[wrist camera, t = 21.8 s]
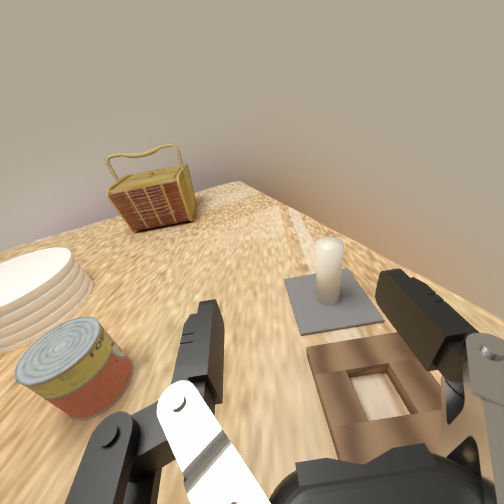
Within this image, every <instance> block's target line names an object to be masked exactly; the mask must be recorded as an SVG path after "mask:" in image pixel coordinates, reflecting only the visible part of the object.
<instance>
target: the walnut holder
mask: <svg viewBox="0 0 504 504" xmlns="http://www.w3.org/2000/svg"><path fill="white" fill-rule="evenodd" d="M307 358H308V361H309V364H310V368H311V371H312V374H313V377H314V381H315V384H316V387H317V391H318V394H319V397H320V401H321V404H322V407H323V410H324V414H325V417H326V420H327V424H328V427H329V430H330V434H331V437H332V440H333V443H334V447H335V450H336V453H337V457H338V460H341V461H346V462H351V463H357V464H366V463H368V462H370V461H371V460H373V459H375V458H376V457H378V456H380V455H381V454H383V453H385V452H386V451H388V450H390V449H391V448H395V447H401V446H407V445H414V444H420V443H425V444H426V446H427V448H428V450H429V451H430V452H431V453H434V454H437V448H438V441H439V437H440V434H441V429H442V410H441V386H440V385H439V383H438V382H437V381H436V379H435V378H434V377H433V375H432V374H431V373H430V371H426V370H425V369H424V367H423V366H422V365H421V363H420V362H419V361H418V359H417V358H416V356H415V355H414V354H413V352H412V351H411V350H410V348H409V347H408V346H407V344H406V343H405V341H404V340H403V339H402V337H401V336H400V335H399V333H398V332H396V333H390V334H383V335H377V336H371V337H365V338H359V339H353V340H347V341H341V342H335V343H329V344H323V345H317V346H311V347H307ZM380 372H386V373H387V375H388V376H389V378H390V380H391V381H392V383H393V385H394V387H395V388H396V390H397V392H398V393H399V395H400V397H401V399H402V400H403V402H404V404H405V405H406V407H407V409H408V411H409V412H410V414H411V415H405V416H398V417H392V418H386V419H379V420H373V421H368V420H367V418H366V416H365V413H364V411H363V409H362V407H361V404H360V402H359V400H358V397H357V395H356V393H355V390H354V388H353V386H352V383H351V381H350V379H349V377H355V376H362V375H368V374H374V373H380Z"/></svg>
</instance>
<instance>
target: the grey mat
mask: <svg viewBox="0 0 504 504" xmlns="http://www.w3.org/2000/svg"><path fill="white" fill-rule="evenodd" d="M284 282H285V285H286V288H287V292H288V295H289V298H290V302H291V305H292V308H293V311H294V315H295V318H296V321H297V325H298V328H299V331H300V335H301V336H303V335H309V334H315V333H321V332H327V331H333V330H339V329H345V328H351V327H357V326H363V325H369V324H375V323H381V322H384V319H383V317H382V316H381V315H380V313H379V312H378V310H377V309H376V308H375V306H374V305H373V303H372V302H371V301H370V299H369V298H368V296H367V295H366V294H365V292H364V291H363V289H362V288H361V287H360V285H359V284H358V282H357V281H356V280H355V278H354V277H353V275H352V274H351V273H350V271H349V270H348V268H346V269H342V272H341V283H340V295H339V301H338V302H337V303H336V304H334V305H324V304H321V303H320V302H319V301H318V300H317V298H316V274H312V275H306V276H300V277H294V278H288V279H284Z"/></svg>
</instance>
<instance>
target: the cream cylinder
mask: <svg viewBox="0 0 504 504" xmlns="http://www.w3.org/2000/svg"><path fill="white" fill-rule="evenodd" d="M343 249H344V242H343V241H342V240H341V239H339V238H336V237H324V238H321V239H319V240H318V241H317V243H316V298H317V300H318V301H319V302H320V303H321V304H324V305H334V304H336V303H337V302H338V301H339V295H340V283H341V272H342V261H343Z"/></svg>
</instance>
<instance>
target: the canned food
mask: <svg viewBox="0 0 504 504" xmlns="http://www.w3.org/2000/svg"><path fill="white" fill-rule="evenodd" d="M132 375H133V363H132V361H131V359H130V358H129V357H127V356H126V354H125V353H124V352H123V351H122V350H121V348H120V347H119V346H118V345H117V344H116V343H115V341H114V340H113V339H112V338H111V337H110V335H109V334H108V333H107V332H106V331H105V329H104V328H103V327H102V326H101V325H100V323H99V321H98V320H97V319H95V318H93V317H80V318H76V319H73V320H70V321H67V322H65V323H63V324H61V325H59V326H57V327H55V328H54V329H52V330H50V331H49V332H47V333H46V334H45V335H43V336H42V337H41V338H39V339H38V340H37V341H36V342H35V343H34V344H33V345H32V346H31V347H30V348H29V349H28V350H27V351H26V352H25V353H24V355H23V356H22V357H21V359H20V361H19V362H18V364H17V366H16V369H15V379H16V381H17V382H18V383H20V384H22V385H25V386H26V387H28V388H29V389H31V390H32V391H34V392H35V393H37V394H38V395H40V396H41V397H43V398H44V399H46V400H47V401H49V402H50V403H52V404H53V405H55V406H56V407H58V408H59V409H61V410H62V411H64V412H65V413H67V414H68V415H69V416H70V417H71V418H73V419H76V420H86V419H90V418H93V417H95V416H97V415H99V414H101V413H102V412H104V411H105V410H107V409H108V408H109V407H111V406H112V405H113V404H114V403H115V402H116V401H117V400H118V399H119V398H120V397H121V395H122V394H123V393H124V391H125V390H126V388H127V387H128V385H129V383H130V381H131V378H132Z"/></svg>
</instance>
